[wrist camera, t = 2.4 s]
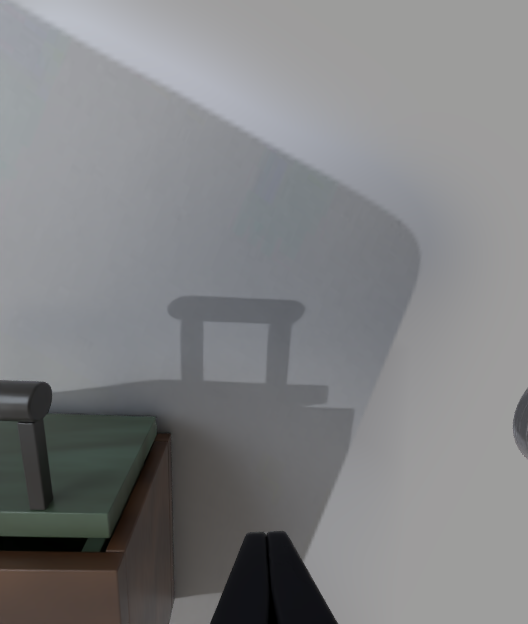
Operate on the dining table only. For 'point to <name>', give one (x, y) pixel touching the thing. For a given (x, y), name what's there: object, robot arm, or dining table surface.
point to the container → (64, 471)
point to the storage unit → (103, 564)
